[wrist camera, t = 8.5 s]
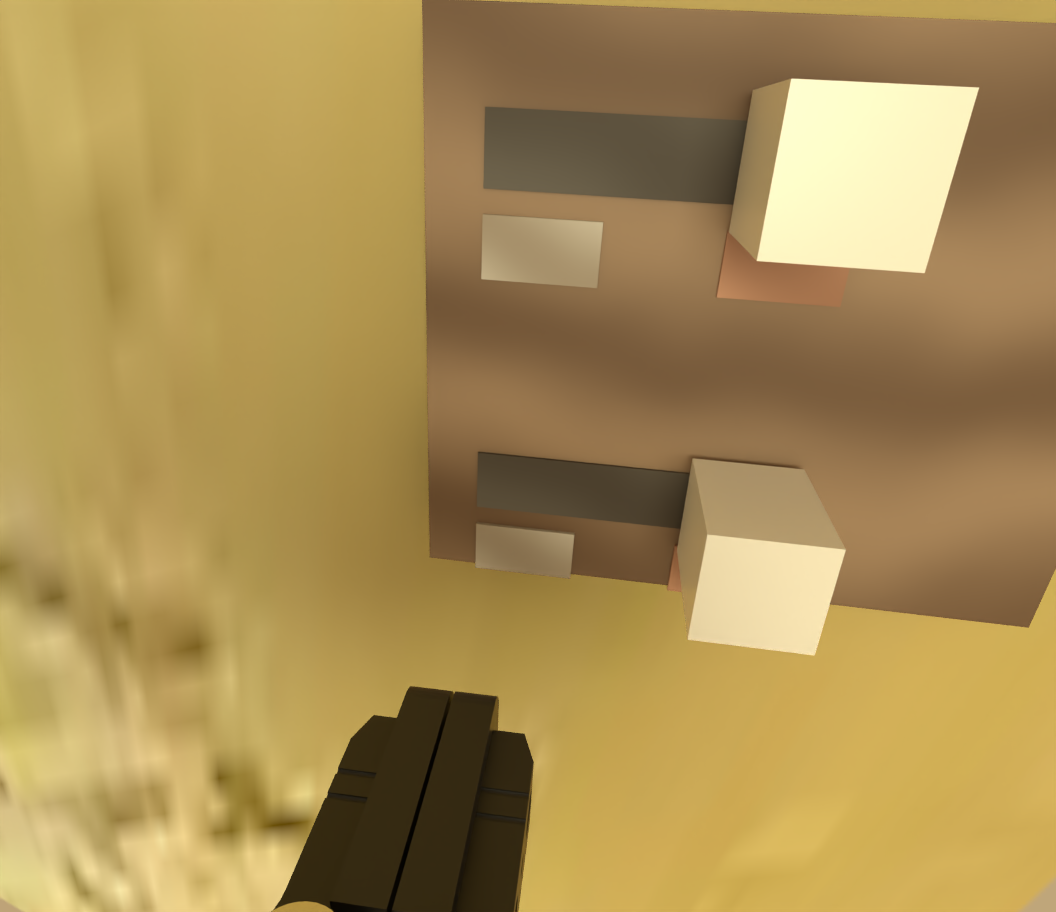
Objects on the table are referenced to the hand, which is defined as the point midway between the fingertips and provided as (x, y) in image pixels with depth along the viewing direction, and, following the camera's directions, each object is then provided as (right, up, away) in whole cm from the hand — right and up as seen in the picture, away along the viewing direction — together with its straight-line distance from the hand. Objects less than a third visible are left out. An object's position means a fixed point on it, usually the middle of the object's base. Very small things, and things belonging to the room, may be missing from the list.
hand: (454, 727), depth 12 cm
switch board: (+8, +8, +8) cm, 14 cm away
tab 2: (+8, +11, +4) cm, 14 cm away
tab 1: (+7, +3, +8) cm, 11 cm away
